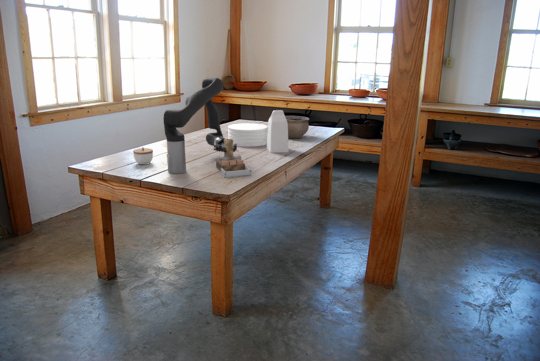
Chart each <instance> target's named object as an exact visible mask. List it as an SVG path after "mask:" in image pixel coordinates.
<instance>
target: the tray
mask: <svg viewBox="0 0 540 361" xmlns="http://www.w3.org/2000/svg"><path fill="white" fill-rule="evenodd" d="M251 171H252V170H251V168H249V167H248V166H247V165H245V170H238V171H228V172H225V171H224V170H223V169H222V168H221V172H220V174H221V176H223V177H224V178H237V177H246V176H251V174H252V172H251Z"/></svg>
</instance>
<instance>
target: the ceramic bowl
mask: <svg viewBox="0 0 540 361" xmlns="http://www.w3.org/2000/svg"><path fill="white" fill-rule="evenodd" d="M285 118H286V120H287V123H288V139H297V138H302V137H303V136H305V134H307V132H309V131H308V130H309V128H310V126H309V125H310V124H309V121H310V118H309V117H306V116H300V115H285Z"/></svg>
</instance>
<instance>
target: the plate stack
mask: <svg viewBox="0 0 540 361" xmlns="http://www.w3.org/2000/svg"><path fill="white" fill-rule="evenodd" d="M227 129H228V130H227V137H228V138H227V139H232V140H233V145H234V144H237V147H242V148H243V147H249V148H250V147H261V146H265V145H267V135H268V124H267V125H266V124H262V123H252V122H247V123H246V122H243V123H240V122H239V123H233V124H229V125H228V126H227Z"/></svg>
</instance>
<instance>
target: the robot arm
mask: <svg viewBox="0 0 540 361" xmlns="http://www.w3.org/2000/svg"><path fill="white" fill-rule="evenodd" d="M201 82H202V83H201V88H199V89H197V90H195V91H193V92H192V93H191V94H189V95H188V96H187V97H186V100H185V107H184V108H182V109H176V108H175V109H174V108H173V109H172V108H170V109H169V108H168V109H166V110H165V111H164V113H163V126H164V128H163V129H164V135H165V137H166V149H167V154H166V160H167V162H166V163H167V171H168V173H169V174H170V175H171V174H172V175H179V174H180V175H181V174H184V173H187V162H186V160H187V159H186V140H185V134H183V133H182V132H180V131H179V130H178V129H181V128H184V127H185V126H186V125H187V124H188V123H189V122H190V120H191V119H192V118H193V117H194V115H195V114H196V113H197V112H199V111H200V110H201V109H202V108H203V107H204V106H205V108H206V114H207V115H206V116H207V125H208V129H211V130H214V131H216V132H208V133H207V134H206V136H205V141H206V143H207V145H209V146H212V147H213V151H217V152H221V153H224V152H225V153H227V149H226V148H225V147H224V139H226V137H224V134H223V132H222V129H221V124H220V123H221V121H220V114H219V111H218V108H217V107H216V106H215V104H214V101H213V100H212V99H213V98H214V97H217V95H219V94H220V93H221V92H222V90H223V88H224V83H223V80H222V79H221V78H219V77H205V78H203V79H202V81H201ZM237 150H238V146H237V144H234V145H233V153H235V152H236V151H237Z"/></svg>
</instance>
